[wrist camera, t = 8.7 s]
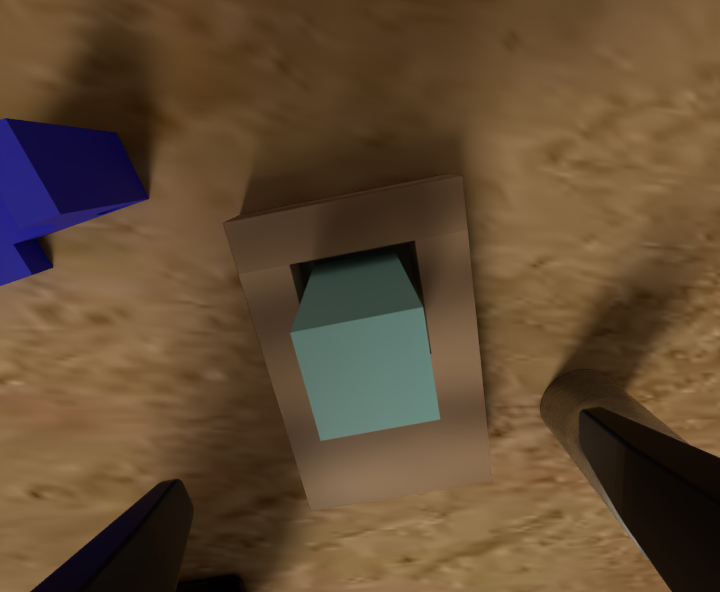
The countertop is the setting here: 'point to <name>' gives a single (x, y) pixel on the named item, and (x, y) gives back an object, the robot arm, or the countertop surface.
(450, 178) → the socket board
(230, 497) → the countertop surface
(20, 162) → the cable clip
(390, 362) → the square peg
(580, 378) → the round peg
